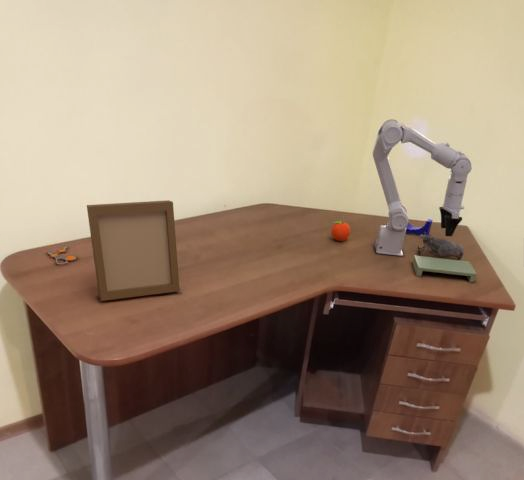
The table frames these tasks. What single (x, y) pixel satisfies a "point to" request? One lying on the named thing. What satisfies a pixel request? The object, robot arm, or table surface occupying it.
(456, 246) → the bird
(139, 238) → the photo frame
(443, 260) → the shelf
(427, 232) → the blue curved piece
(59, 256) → the key chain
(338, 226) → the red tomato
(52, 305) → the table surface
